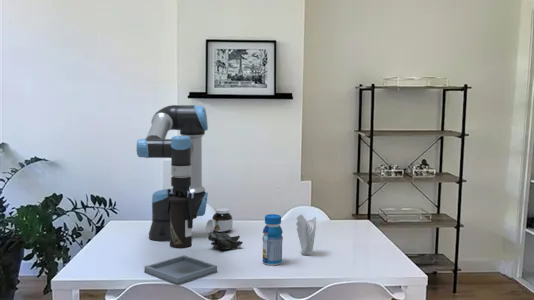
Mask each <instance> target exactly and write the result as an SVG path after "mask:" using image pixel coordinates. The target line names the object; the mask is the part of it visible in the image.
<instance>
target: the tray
mask: <svg viewBox="0 0 534 300" xmlns="http://www.w3.org/2000/svg"><path fill="white" fill-rule="evenodd" d="M143 269H144V273H145V274H146V275H149V276H152V277H155V278H158V279H160V280H162V281H166V282H168V283H171V284H174V285H176V286H179V285H182V284H185V283H189V282H192V281H194V280H198V279H201V278H205V277H206V276H209V275H213V274H216V273H218V265H216V264H213V263H211V262H210V263H209V262H205V261H204V260H200V259H196V258H193V257H191V256H187V255H181V256H177V257H173V258H169V259H166V260H162V261H158V262H156V263H151V264H149V265H145V266H144V268H143Z"/></svg>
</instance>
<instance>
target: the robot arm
mask: <svg viewBox="0 0 534 300" xmlns="http://www.w3.org/2000/svg"><path fill="white" fill-rule="evenodd" d="M207 115H208V114H207V109H206V108H205V107H204V106H203V105H196V104H194V105H193V104H191V105H189V104H188V105H186V104H185V105H184V104H183V105H182V104H181V105H176V104H172V105H168V106H164V107H162V108H160V109H159V110H158V111H156V112H155V113H154V115H153V116H152V118H151V122H150V123H151V126H150V128H149V130H148V133H147V135H146V137H145V138H139V139H137V141H136V155H137V157H138V158H144V159H145V158H146V159H150V158H151V159H153V158H155V159H163V158H164V159H170V161H171V163H170V166H171V168H170V169H171V170H170V171H171V172H170V173H171V174H170V175H171V177H170V178H171V179H170V181H171V182H170V184H171V187H172V188H166V189H160V190H155V191H154V192H153V193H152V198H151V199H152V200H151V209H152V210H151V212H152V213H151V214H152V215H151V217H152V218H151V220H152V221H151V225H150V227H149V232H148V240H152V241H156V242H158V241H159V242H167V241H169V242H170V208H171V202H170V201H169V198H170V197H171V196H179V197H181V198H186V197H188V205H185V214H186V218H187V219H185V237H188V236H192V237H193V226H194V222H193V221H194V219H197V217H202V216H205V214H206V209H207V202H208V195H209V194H208V192H207V191H206V189H205V187H204V186H203V184H202V183H203V182H202V181H203V180H202V179H203V178H202V176H203V175H202V173H203V172H202V170H203V168H202V167H203V166H202V163H203V162H202V159H203V157H202V152H203V151H202V147H203V146H202V141H203V139H202V138H203V137H204V135H206V134H205V133H206V131H208V129H209V124H208V116H207ZM174 130H175V131H179V135H173V136H172V137H171V138H170V139H167V138H166V137H167V135H168V132H169V131H174ZM189 216H190V217H189Z"/></svg>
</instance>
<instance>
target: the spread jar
mask: <svg viewBox="0 0 534 300" xmlns="http://www.w3.org/2000/svg"><path fill="white" fill-rule="evenodd" d="M233 222H234V221H233V216H232V214H230V209H229V208H227V207H223V208H222V207H219V208H216V209H215V213H214V214H213V216H212V219H209V220H208V221H206V226H205V231H206V233H208V234H211V233H213V232H215V234H216V233H218V234H220V233H226V234H228V233H230V232H231V231H232V229H233Z"/></svg>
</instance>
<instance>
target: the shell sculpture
mask: <svg viewBox="0 0 534 300" xmlns="http://www.w3.org/2000/svg"><path fill="white" fill-rule="evenodd" d="M296 220H297V221H296V226H297V227H296V231H297V235H298V236H297V237H298V238H299V239H298V240H299V243H300V247H301V251H300V254H301V255H304V256H311V255H312V254H313V253H314V250H313V249H314V244H315V237H316V229H317V226H316V225H317V217H316V216H314V217H312V219H310V220H307V219H306V218H305V217H304V215H303V214H299V215H298V216H297V217H296Z"/></svg>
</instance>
